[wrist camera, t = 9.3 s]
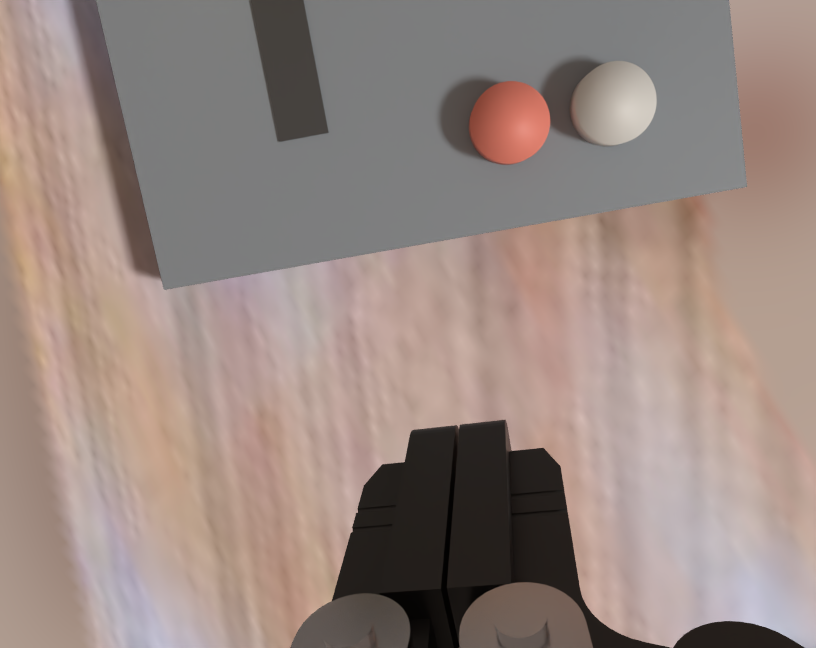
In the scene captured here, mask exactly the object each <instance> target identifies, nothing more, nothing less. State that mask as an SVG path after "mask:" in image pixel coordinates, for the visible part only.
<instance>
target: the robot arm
mask: <svg viewBox="0 0 816 648" xmlns="http://www.w3.org/2000/svg"><path fill="white" fill-rule="evenodd" d="M352 528H353V532H352V533H351V534H350V538H349V542H348V545H347V549H346V552H345V556H344V559H343V563H342V567H341V570H340V574H339V577H338V581H337V585H336V588H335V592H334V595H333V599H332V602H329V603H327V604H326V605H324V606H322V607H321V608H319V609H318V610H317V611H315V612H314V613H313V614H312V615H311V616H310V617H309V618H308V619H307V620H306V621H305V622H304V623H303V624H302V626H301V627H300V628H299V630H298V632H297V634H296V636H295V638H294V640H293V642H292V645H291V647H290V648H669V647H665V646H660V645H655V644H651V643H646V642H642V641H638V640H635V639H631V638H629V637H626V636H624V635H621V634H619V633H617V632H615V631H614V630H612V629H610V628H608V627H607V626H606V625H604V624H603V623H602V622H600V621H599V620H598V619H597V618H596V617H595V616H594V615H593V614H592V613H591V611H590V610H589V609H588V607H587V606H586V604H585V602H584V600H583V598H582V595H581V591H580V587H579V580H578V574H577V568H576V562H575V555H574V549H573V543H572V536H571V530H570V524H569V518H568V512H567V505H566V499H565V493H564V486H563V480H562V474H561V467H560V465H559V464H558V463H557V462H556V461H555V460H554V459H553V458H552V457H551V456H550V455H549V454H548V452H547V451H546V450H545V449H544V448H538V449H528V450H518V451H511V445H510V439H509V433H508V427H507V423H506V420H499V421H490V422H481V423H472V424H462V425H460V427H459V428H458V426H457V425H455V426H446V427H437V428H428V429H418V430H412V431H411V434H410V438H409V443H408V448H407V453H406V459H405V462H403V463H393V464H383V465H381V467H380V468H379V469H378V470H377V471H376V472H375V474H374V475H373V476H372V477H371V478H370V479H369V480H368V482H367V483H366V484H365V485H364V488H363V491H362V495H361V498H360V502H359V506H358V513H356V516H355V520H354V524H353V527H352ZM673 648H804V647H803V646H801V645H799V644H798V643H796V642H794V641H793V640H791V639H789V638H788V637H786V636H784V635H782V634H780V633H778V632H776V631H773V630H771V629H768V628H766V627H762V626H759V625H755V624H751V623H744V622H734V621H723V622H714V623H710V624H705V625H702V626H700V627H697V628H695V629H692V630H691V631H689V632H688V633H686V634H685V635H684V636H683V637H681V638H680V639H679V640H678V641H677V643H676V644H675V646H674V647H673Z"/></svg>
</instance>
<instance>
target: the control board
mask: <svg viewBox="0 0 816 648" xmlns="http://www.w3.org/2000/svg"><path fill="white" fill-rule="evenodd" d="M96 3H97V7H98V12H99V16H100V20H101V24H102V29H103V33H104V37H105V41H106V46H107V50H108V54H109V58H110V63H111V67H112V71H113V75H114V80H115V84H116V88H117V92H118V97H119V101H120V105H121V109H122V114H123V118H124V122H125V126H126V131H127V135H128V139H129V143H130V148H131V152H132V156H133V160H134V165H135V169H136V173H137V177H138V182H139V186H140V190H141V194H142V199H143V203H144V207H145V211H146V216H147V220H148V224H149V228H150V233H151V237H152V241H153V245H154V250H155V254H156V258H157V262H158V267H159V271H160V275H161V279H162V284H163V288H164V290H166V289H172V288H177V287H183V286H189V285H194V284H200V283H206V282H211V281H217V280H223V279H228V278H234V277H240V276H245V275H251V274H257V273H262V272H268V271H274V270H279V269H285V268H291V267H296V266H302V265H308V264H313V263H319V262H325V261H330V260H336V259H342V258H347V257H353V256H358V255H364V254H370V253H375V252H381V251H387V250H392V249H398V248H404V247H409V246H415V245H421V244H426V243H432V242H438V241H443V240H449V239H455V238H460V237H466V236H472V235H477V234H483V233H489V232H494V231H500V230H506V229H511V228H517V227H523V226H528V225H534V224H540V223H545V222H551V221H557V220H562V219H568V218H574V217H579V216H585V215H591V214H596V213H602V212H608V211H613V210H619V209H625V208H630V207H636V206H642V205H647V204H653V203H659V202H664V201H670V200H676V199H681V198H687V197H693V196H698V195H704V194H710V193H715V192H721V191H726V190H732V189H738V188H743V187H747V182H746V171H745V161H744V151H743V140H742V130H741V119H740V109H739V99H738V88H737V78H736V68H735V57H734V47H733V37H732V26H731V16H730V6H729V0H96Z"/></svg>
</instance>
